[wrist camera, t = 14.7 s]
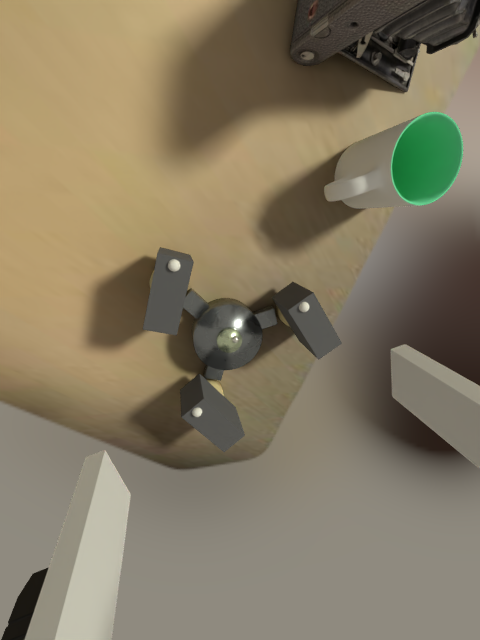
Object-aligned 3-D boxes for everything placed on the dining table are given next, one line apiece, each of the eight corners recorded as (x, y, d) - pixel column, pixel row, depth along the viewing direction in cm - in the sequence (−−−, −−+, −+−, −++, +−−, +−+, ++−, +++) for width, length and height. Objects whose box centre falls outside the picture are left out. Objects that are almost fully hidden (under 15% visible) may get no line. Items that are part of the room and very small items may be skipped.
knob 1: (213, 415, 45) (222, 457, 37) (177, 384, 42) (178, 422, 34) (235, 397, 45) (248, 436, 37) (200, 364, 41) (207, 399, 34)
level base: (163, 368, 40) (162, 386, 36) (182, 286, 37) (183, 295, 33) (255, 381, 44) (264, 399, 40) (279, 307, 41) (291, 318, 37)
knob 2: (291, 337, 43) (317, 363, 35) (264, 295, 40) (286, 314, 32) (315, 320, 43) (347, 343, 35) (290, 277, 40) (319, 291, 32)
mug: (317, 231, 39) (365, 235, 29) (299, 169, 36) (345, 150, 26) (395, 193, 40) (466, 185, 30) (383, 129, 36) (458, 97, 27)
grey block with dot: (145, 306, 37) (137, 330, 29) (157, 244, 35) (152, 252, 27) (179, 313, 38) (181, 338, 30) (192, 254, 36) (198, 263, 28)
